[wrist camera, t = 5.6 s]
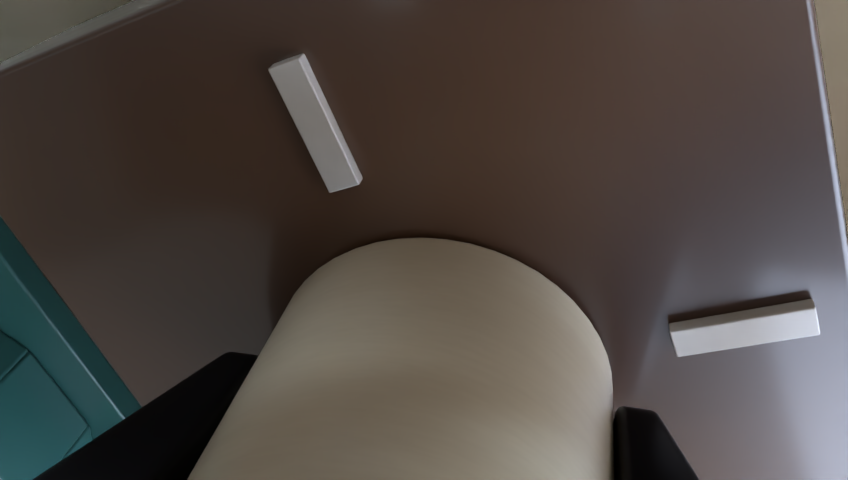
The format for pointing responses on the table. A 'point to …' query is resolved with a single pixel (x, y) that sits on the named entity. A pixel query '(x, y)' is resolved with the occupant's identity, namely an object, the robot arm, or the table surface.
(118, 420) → the button box
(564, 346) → the dial
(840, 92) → the table surface
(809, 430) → the dial panel
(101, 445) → the robot arm
